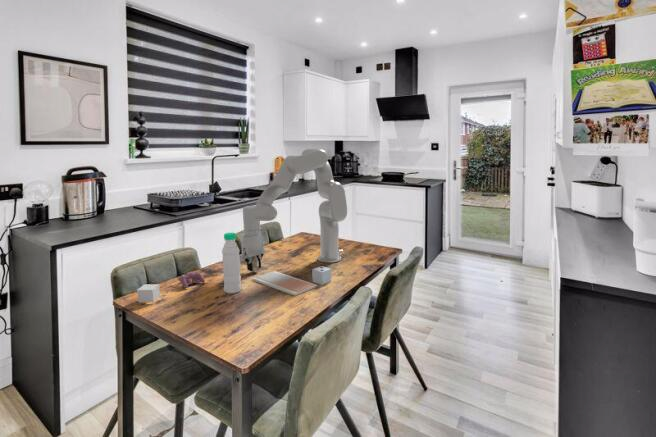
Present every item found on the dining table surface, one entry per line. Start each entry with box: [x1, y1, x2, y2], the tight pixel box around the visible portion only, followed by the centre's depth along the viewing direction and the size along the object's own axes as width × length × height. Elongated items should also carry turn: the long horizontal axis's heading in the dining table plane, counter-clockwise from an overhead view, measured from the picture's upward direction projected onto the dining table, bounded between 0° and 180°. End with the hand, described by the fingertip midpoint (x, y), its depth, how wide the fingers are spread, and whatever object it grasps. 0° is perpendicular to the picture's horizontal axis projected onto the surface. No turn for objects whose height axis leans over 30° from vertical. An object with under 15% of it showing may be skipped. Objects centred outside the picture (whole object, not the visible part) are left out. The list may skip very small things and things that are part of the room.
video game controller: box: [178, 271, 206, 289], centre depth 170 cm, size 10×5×7 cm, turn 141°
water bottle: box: [221, 232, 242, 294], centre depth 162 cm, size 7×7×25 cm
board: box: [252, 270, 318, 297], centre depth 172 cm, size 13×28×1 cm, turn 48°
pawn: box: [251, 256, 260, 272], centre depth 186 cm, size 4×4×7 cm
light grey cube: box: [136, 283, 161, 302], centre depth 153 cm, size 6×6×6 cm
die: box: [311, 265, 332, 286], centre depth 174 cm, size 6×6×6 cm
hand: (254, 268), depth 186 cm, fingers closed on pawn, 4 cm apart
